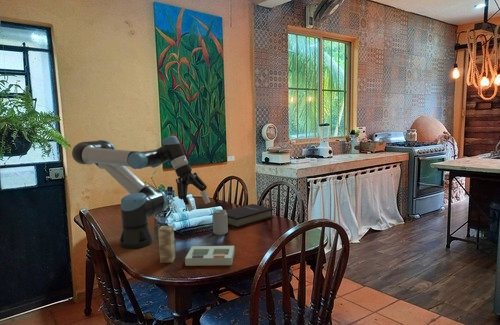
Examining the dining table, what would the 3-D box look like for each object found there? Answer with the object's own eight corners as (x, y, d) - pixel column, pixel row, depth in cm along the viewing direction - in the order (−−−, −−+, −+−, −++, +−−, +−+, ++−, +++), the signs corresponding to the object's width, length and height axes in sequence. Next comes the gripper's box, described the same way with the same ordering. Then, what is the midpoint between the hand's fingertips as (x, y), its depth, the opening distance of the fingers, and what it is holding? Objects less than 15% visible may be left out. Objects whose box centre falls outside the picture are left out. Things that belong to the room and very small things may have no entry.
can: (225, 236, 173) (224, 212, 172) (211, 235, 175) (210, 212, 173) (229, 231, 181) (228, 208, 179) (215, 230, 182) (214, 208, 181)
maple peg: (160, 262, 142) (158, 229, 141) (163, 257, 147) (161, 225, 146) (172, 262, 142) (170, 229, 141) (175, 257, 147) (173, 225, 146)
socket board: (185, 265, 139) (184, 256, 138) (192, 252, 152) (191, 244, 152) (231, 265, 138) (231, 256, 137) (234, 252, 151) (234, 244, 151)
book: (250, 212, 219) (250, 203, 218) (273, 218, 204) (273, 208, 204) (215, 222, 200) (215, 212, 199) (237, 229, 186) (237, 218, 185)
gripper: (170, 168, 155) (189, 211, 154) (202, 159, 177) (219, 197, 176) (159, 174, 158) (178, 216, 157) (191, 165, 180) (208, 202, 179)
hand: (200, 206), depth 167 cm, fingers open, 13 cm apart
